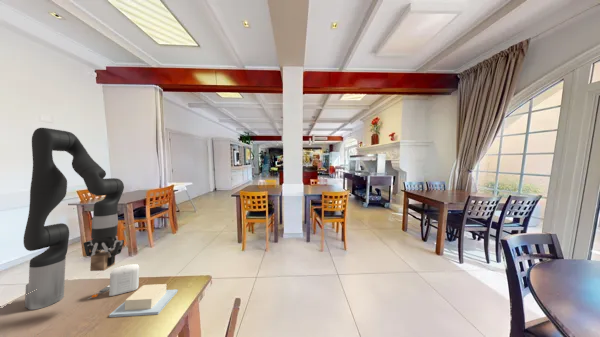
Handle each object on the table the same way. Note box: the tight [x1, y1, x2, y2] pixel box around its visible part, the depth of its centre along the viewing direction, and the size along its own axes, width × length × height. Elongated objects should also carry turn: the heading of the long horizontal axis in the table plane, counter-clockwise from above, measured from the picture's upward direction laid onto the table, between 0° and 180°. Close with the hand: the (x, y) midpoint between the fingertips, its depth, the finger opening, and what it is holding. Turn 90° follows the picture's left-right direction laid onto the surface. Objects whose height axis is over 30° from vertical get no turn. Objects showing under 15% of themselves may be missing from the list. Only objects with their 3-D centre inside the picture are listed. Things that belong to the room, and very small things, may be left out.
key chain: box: [87, 284, 110, 300], centre depth 85 cm, size 13×4×2 cm, turn 174°
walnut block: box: [89, 250, 116, 272], centre depth 77 cm, size 5×5×6 cm
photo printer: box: [108, 263, 140, 297], centre depth 87 cm, size 10×4×12 cm, turn 123°
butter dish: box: [108, 283, 179, 318], centre depth 79 cm, size 18×14×5 cm
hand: (103, 265), depth 77 cm, fingers closed on walnut block, 5 cm apart
